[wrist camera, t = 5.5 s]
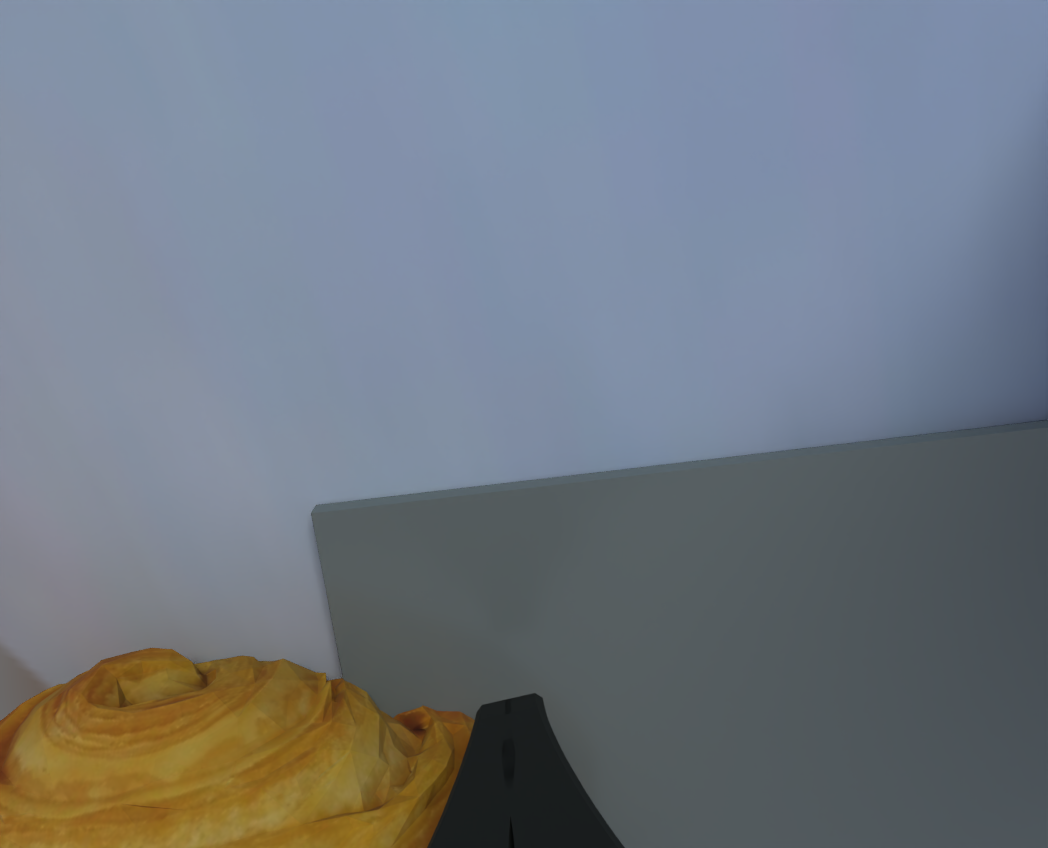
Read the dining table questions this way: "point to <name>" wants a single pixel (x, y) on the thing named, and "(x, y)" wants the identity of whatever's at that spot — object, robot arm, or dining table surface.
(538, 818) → the robot arm
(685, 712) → the slate board
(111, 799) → the croissant
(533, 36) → the dining table surface
